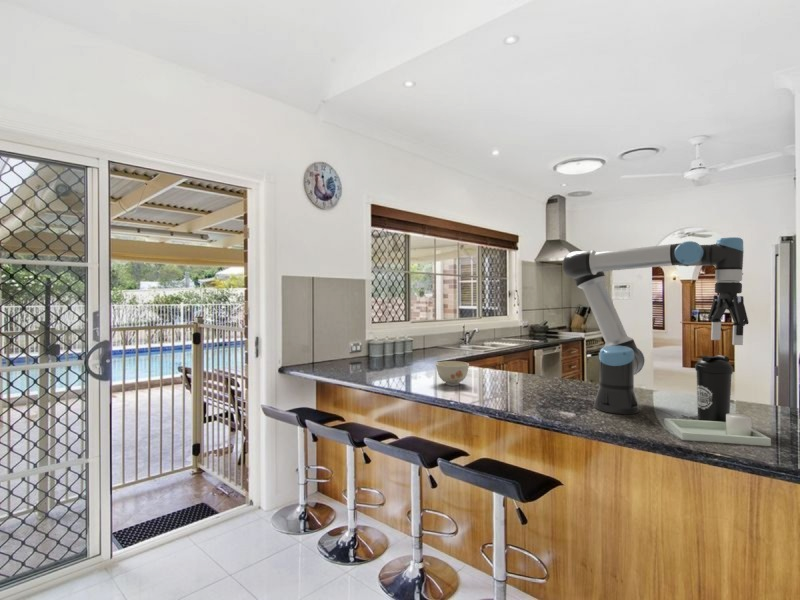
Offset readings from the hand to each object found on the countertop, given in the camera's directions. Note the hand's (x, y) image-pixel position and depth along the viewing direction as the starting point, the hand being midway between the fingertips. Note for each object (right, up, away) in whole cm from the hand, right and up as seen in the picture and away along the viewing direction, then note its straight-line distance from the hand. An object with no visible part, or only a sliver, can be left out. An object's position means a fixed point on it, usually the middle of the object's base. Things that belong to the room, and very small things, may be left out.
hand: (726, 342), depth 150 cm
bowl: (-90, -26, +56) cm, 109 cm away
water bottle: (-10, -27, -7) cm, 30 cm away
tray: (-19, -27, -20) cm, 39 cm away
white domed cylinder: (-13, -26, -22) cm, 36 cm away
